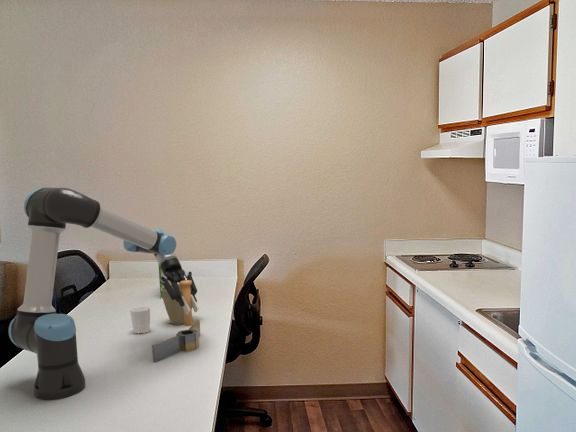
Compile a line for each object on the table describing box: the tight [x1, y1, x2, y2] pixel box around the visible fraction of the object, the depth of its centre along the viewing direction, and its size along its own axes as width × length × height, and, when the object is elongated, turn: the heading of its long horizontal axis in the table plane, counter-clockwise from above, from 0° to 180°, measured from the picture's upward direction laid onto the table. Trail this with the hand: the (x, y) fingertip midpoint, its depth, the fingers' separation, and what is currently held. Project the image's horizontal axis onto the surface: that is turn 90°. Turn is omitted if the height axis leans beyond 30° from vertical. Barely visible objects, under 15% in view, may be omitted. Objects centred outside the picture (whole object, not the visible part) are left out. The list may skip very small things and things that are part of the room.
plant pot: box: [161, 283, 193, 326], centre depth 240 cm, size 15×15×16 cm
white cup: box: [130, 305, 151, 335], centre depth 229 cm, size 8×8×10 cm
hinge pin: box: [180, 279, 194, 327], centre depth 205 cm, size 4×4×17 cm
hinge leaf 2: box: [181, 319, 201, 353], centre depth 212 cm, size 8×21×6 cm, turn 175°
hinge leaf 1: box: [151, 328, 199, 363], centre depth 201 cm, size 20×8×6 cm, turn 145°
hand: (192, 311), depth 203 cm, fingers closed on hinge pin, 3 cm apart
